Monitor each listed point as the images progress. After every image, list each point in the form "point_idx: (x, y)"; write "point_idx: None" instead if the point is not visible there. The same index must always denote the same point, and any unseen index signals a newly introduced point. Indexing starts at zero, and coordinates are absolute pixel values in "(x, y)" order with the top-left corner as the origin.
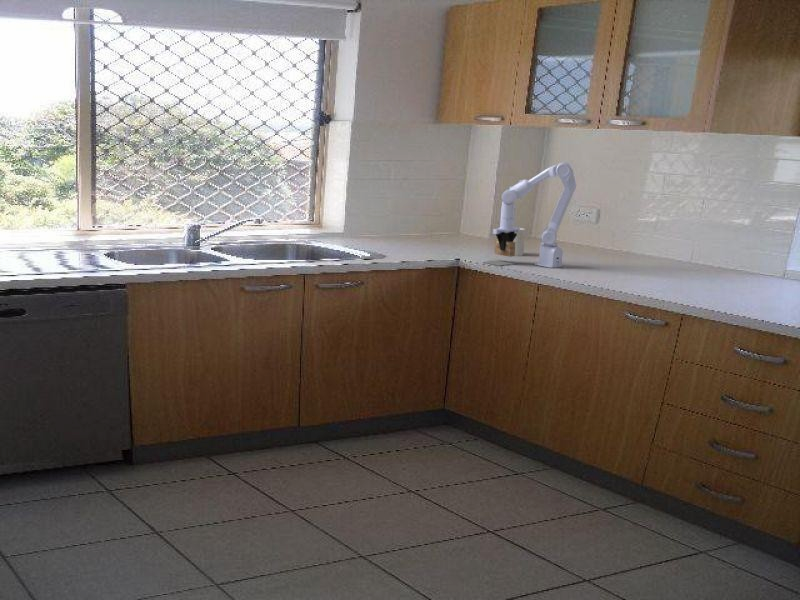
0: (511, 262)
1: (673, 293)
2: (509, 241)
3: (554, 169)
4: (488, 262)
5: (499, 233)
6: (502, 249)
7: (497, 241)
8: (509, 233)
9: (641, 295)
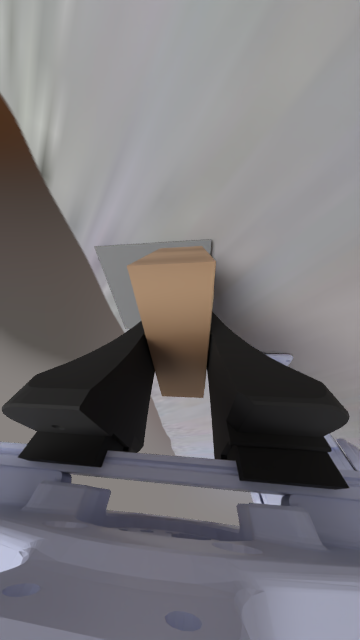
0: None
1: (204, 453)
2: (197, 372)
3: None
4: (114, 273)
5: (48, 442)
6: None
7: (138, 299)
8: (222, 447)
9: (173, 449)
